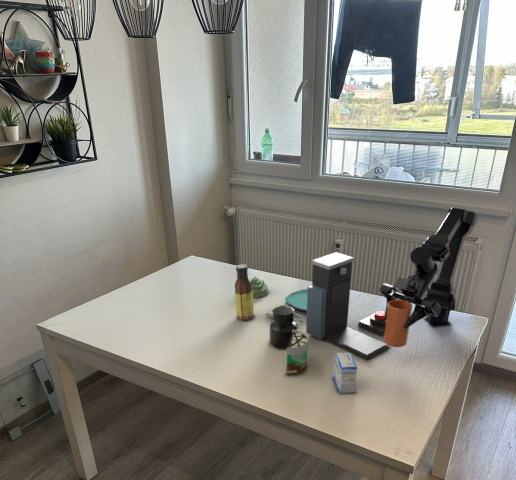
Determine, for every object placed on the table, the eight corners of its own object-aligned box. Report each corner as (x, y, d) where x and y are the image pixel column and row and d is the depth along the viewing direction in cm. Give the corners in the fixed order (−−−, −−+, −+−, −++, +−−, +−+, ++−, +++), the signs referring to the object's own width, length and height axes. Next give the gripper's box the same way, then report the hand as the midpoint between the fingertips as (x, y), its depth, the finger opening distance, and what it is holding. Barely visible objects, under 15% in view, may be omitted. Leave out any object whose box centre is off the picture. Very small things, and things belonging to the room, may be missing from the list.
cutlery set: (348, 303, 188) (348, 297, 187) (298, 330, 170) (298, 324, 168) (307, 289, 200) (308, 284, 199) (257, 313, 182) (257, 308, 180)
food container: (306, 379, 143) (307, 350, 138) (286, 377, 144) (286, 348, 139) (311, 358, 153) (312, 330, 148) (292, 356, 154) (292, 328, 149)
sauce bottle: (256, 314, 181) (254, 263, 171) (250, 322, 176) (248, 270, 166) (239, 312, 183) (237, 262, 173) (233, 319, 178) (231, 268, 168)
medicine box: (333, 378, 143) (335, 352, 139) (348, 377, 144) (350, 351, 139) (339, 393, 136) (341, 367, 132) (355, 392, 137) (357, 366, 132)
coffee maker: (331, 322, 175) (336, 251, 162) (388, 347, 158) (399, 271, 145) (304, 334, 167) (307, 261, 154) (361, 362, 150) (369, 284, 137)
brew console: (377, 316, 178) (378, 307, 176) (400, 325, 171) (402, 316, 169) (358, 326, 172) (359, 317, 170) (381, 336, 165) (382, 326, 163)
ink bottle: (291, 334, 167) (291, 302, 161) (302, 346, 160) (303, 313, 154) (264, 339, 164) (264, 307, 158) (274, 352, 157) (274, 318, 151)
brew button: (379, 314, 172) (379, 309, 171) (388, 318, 170) (389, 313, 169) (372, 317, 170) (372, 313, 169) (381, 321, 167) (382, 317, 166)
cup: (400, 335, 152) (405, 298, 146) (410, 345, 146) (416, 308, 140) (380, 337, 151) (384, 301, 145) (389, 348, 145) (394, 310, 139)
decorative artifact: (272, 292, 198) (256, 285, 205) (272, 276, 195) (255, 270, 201) (254, 299, 192) (238, 292, 199) (253, 283, 189) (237, 276, 195)
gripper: (385, 257, 145) (359, 302, 145) (442, 274, 133) (413, 323, 132) (398, 275, 154) (373, 317, 153) (452, 293, 141) (425, 338, 141)
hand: (394, 323), depth 145 cm, fingers closed on cup, 7 cm apart
